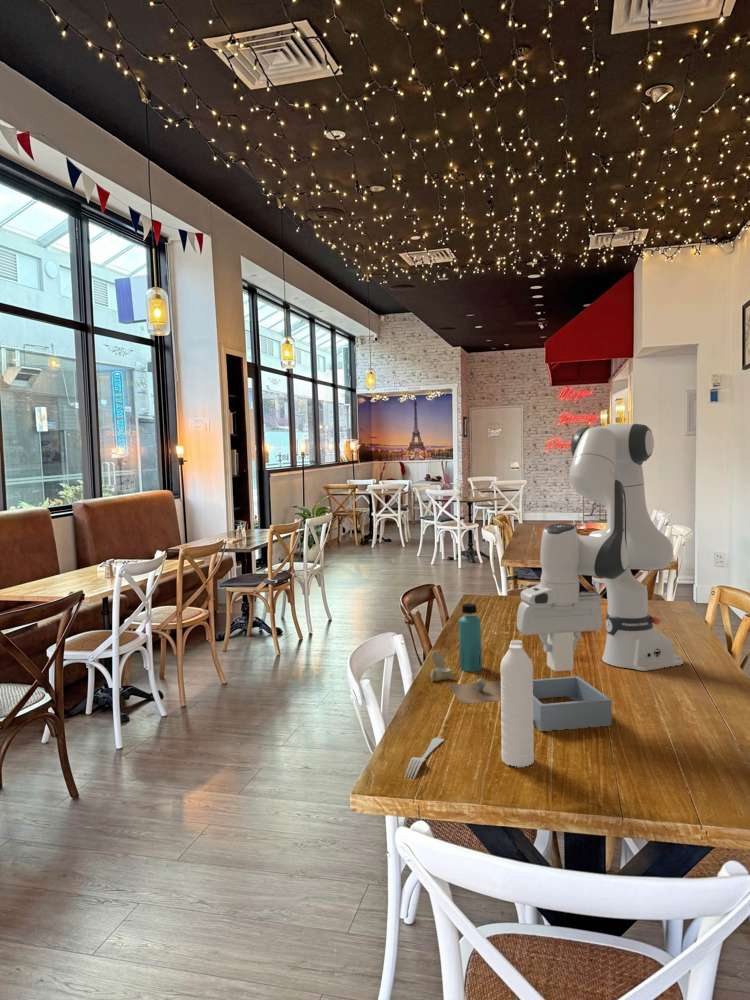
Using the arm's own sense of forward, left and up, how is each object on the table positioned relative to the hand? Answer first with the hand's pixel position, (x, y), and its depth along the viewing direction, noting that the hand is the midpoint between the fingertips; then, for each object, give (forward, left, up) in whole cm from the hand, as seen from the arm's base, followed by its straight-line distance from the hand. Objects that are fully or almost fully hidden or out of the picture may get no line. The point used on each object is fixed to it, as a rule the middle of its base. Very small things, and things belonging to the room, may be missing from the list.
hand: (559, 650), depth 161 cm
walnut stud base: (+15, -15, -16) cm, 26 cm away
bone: (+22, -28, -16) cm, 39 cm away
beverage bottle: (+12, -34, -16) cm, 39 cm away
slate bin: (0, 0, -16) cm, 16 cm away
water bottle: (+19, +22, -16) cm, 33 cm away
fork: (+37, +15, -16) cm, 43 cm away
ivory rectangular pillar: (0, 0, -4) cm, 4 cm away
